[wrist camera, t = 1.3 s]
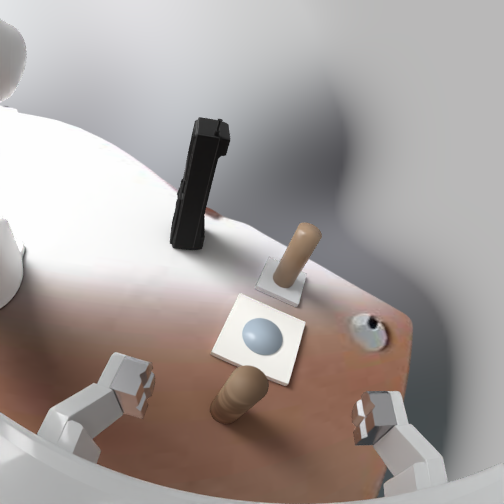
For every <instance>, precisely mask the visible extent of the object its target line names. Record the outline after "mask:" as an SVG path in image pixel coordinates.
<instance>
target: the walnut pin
mask: <svg viewBox="0 0 504 504" xmlns="http://www.w3.org/2000/svg"><path fill="white" fill-rule="evenodd" d="M268 387H269V384H268V379H267V377H266V375H265V374H264V373H263V372H262V371H261V370H260V369H258V368H256V367H254V366H249V365H245V366H241V367H238V368H237V369H235V370H234V371H233V373H232V374H231V375H230V377H229V378H228V380H227V381H226V383H225V384H224V386H223V387H222V389H221V390H220V392H219V393H218V395H217V396H216V398H215V399H214V401H213V402H212V404H211V406H210V412H211V415H212V417H213V418H214V419H215V420H216V421H218V422H220V423H223V424H229V423H232V422H234V421H235V420H236V419H238V418H239V417H240V416H241V415H243V414H244V413H245V412H246V411H248V410H249V409H250V408H251V407H253V406H254V405H255V404H256V403H257V402H259V401H260V400H261V399H262V398H263V397H264V396H265V395H266V393H267V391H268Z"/></svg>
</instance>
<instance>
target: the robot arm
mask: <svg viewBox="0 0 504 504" xmlns="http://www.w3.org/2000/svg"><path fill="white" fill-rule="evenodd" d="M25 64H26V46H25V42H24V39H23V37H22V35H21V34H20V32H19V31H18V30H17V29H16V28H15V27H13V26H12V25H10V24H7V23H6V22H4V21H2V20H1V19H0V102H2V101H4V100H6V99H8V98H9V97H10V96H11V95H12V94H13V92H14V91H15V89H16V87H17V86H18V84H19V82H20V80H21V78H22V75H23V72H24V69H25ZM24 251H25V246H24V244H23V243H22V242H21V241H19V240H16V239H15V238H14V236H13V233H12V231H11V229H10V226H9V224H8V221H7V220H6V219H3V218H2V217H0V308H2V307H3V306H5V305H6V304H7V303H8V302H9V301H10V300H11V299H12V298H13V296H14V295H15V294H16V292H17V290H18V289H19V287H20V284H21V281H22V277H23V263H22V257H23V254H24ZM152 369H153V365H152V362H148V361H144V360H140V359H137V358H133V357H130V356H127V355H124V354H120V353H117V352H114V353H113V354H112V356H111V357H110V359H109V361H108V363H107V365H106V367H105V369H104V371H103V373H102V375H101V377H100V379H99V381H98V383H97V384H95V383H93V384H91V385H90V386H88V387H86V388H85V389H83V390H81V391H79V392H78V393H76V394H74V395H73V396H71V397H69V398H67V399H66V400H64V401H62V402H61V403H59V404H57V405H55V406H54V407H52V408H50V409H49V411H48V413H47V415H46V417H45V419H44V421H43V423H42V425H41V427H40V429H39V431H38V433H37V435H36V434H34V433H33V432H31V431H29V430H27V429H26V428H24V427H23V426H21V425H19V424H18V423H16V422H15V421H13V420H11V419H10V418H8V417H7V416H5V415H4V414H2V413H1V412H0V504H283V503H263V502H251V501H241V500H233V499H225V498H218V497H212V496H206V495H201V494H196V493H191V492H186V491H181V490H177V489H173V488H169V487H165V486H161V485H157V484H154V483H150V482H147V481H143V480H140V479H137V478H134V477H131V476H128V475H125V474H122V473H119V472H116V471H114V470H111V469H108V468H106V467H103V466H101V465H98V464H97V461H98V458H99V455H100V452H101V450H100V448H99V447H98V446H97V444H96V443H95V442H94V441H93V438H94V437H95V436H97V435H98V434H99V433H101V432H102V431H103V430H104V429H106V428H107V427H108V426H109V425H111V424H112V423H113V422H115V421H116V420H117V419H118V418H120V417H121V416H122V415H123V413H124V414H128V415H131V416H135V417H138V418H142V419H144V416H145V413H146V410H147V407H148V403H147V399H148V398H149V397H151V396H152V393H153V390H154V385H155V376H154V374H153V373H152ZM352 423H353V424H354V425H355V426H356V428H355V430H354V431H353V434H354V443H355V445H373V447H374V448H375V450H376V451H377V453H378V454H379V456H380V457H381V458H382V460H383V461H384V463H385V464H386V466H387V467H388V468H389V470H390V471H391V473H392V474H393V476H394V477H393V478H392V479H390V480H388V481H386V482H385V483H384V495H385V497H382V498H375V499H368V500H359V501H350V502H337V503H318V504H504V463H500V464H497V465H494V466H492V467H490V468H487V469H485V470H482V471H480V472H477V473H474V474H471V475H469V476H466V477H463V478H460V479H457V480H454V481H451V482H448V480H447V476H446V470H445V466H444V461H443V457H442V456H441V455H440V454H439V453H438V452H437V451H436V449H435V448H434V447H433V446H432V445H431V444H430V443H429V442H428V441H427V440H426V439H425V438H424V437H423V436H422V435H421V434H420V433H419V432H418V431H417V430H416V428H415V427H414V426H413V425H412V424H408V420H407V416H406V412H405V408H404V404H403V400H402V396H401V393H400V392H399V391H366V392H364V393H363V394H362V395H361V400H359V401H357V402H356V403H355V405H354V406H353V410H352Z"/></svg>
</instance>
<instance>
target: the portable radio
mask: <svg viewBox="0 0 504 504" xmlns="http://www.w3.org/2000/svg"><path fill="white" fill-rule="evenodd" d="M229 142H230V134H229V126H228V124H227V123H225V122H222V119H218V120H213V119H207V118H198V120H196V121H195V124H194V128H193V133H192V137H191V142H190V146H189V151H188V156H187V161H186V168H185V172H184V177H183V179H182V181H181V185H180V188H179V190H178V193H177V195H178V199H177V202H176V209H175V213H174V217H173V221H172V227H171V236H170V244H172V247H173V248H181V249H189V250H198V249H202V246H203V242H204V214H205V210H206V205H207V201H208V197H209V192H210V189H211V185H212V181H213V177H214V173H215V168H216V165H217V161H218V158H219V157H220V156H225V155H226V153H227V149H228V146H229Z"/></svg>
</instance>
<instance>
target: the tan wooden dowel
mask: <svg viewBox="0 0 504 504" xmlns="http://www.w3.org/2000/svg"><path fill="white" fill-rule="evenodd" d="M321 237H322V234H321V232H320V230H319V229H318V228H317V227H315V226H314V225H312V224H309V223H301V224H299V226H298V228H297V230H296V232H295V234H294V236H293V237H292V239H291V242H290V243H289V245H288V247H287V249H286V251H285V253H284V255H283V257H282V259H281V261H278V260H276V259H273V258H271V257H269V258H268V260H267V262H266V264H265V267H264V269H263V271H262V273H261V276H260V278H259V280H258V283H257V285H256V287H255V289H256V290H258V291H261V292H263V293H265V294H267V295H269V296H272V297H274V298H276V299H278V300H281V301H283V302H285V303H287V304H290V305H292V306H294V307H297V306H298V304H299V301H300V297H301V294H302V290H303V286H304V283H305V279H306V275H307V274H306V273H304V272H302V269H303V267H304V266H305V264H306V262H307V261H308V259H309V257H310V256H311V254H312V252H313V251H314V249H315V247H316V246H317V244H318V242H319V241H320V239H321Z"/></svg>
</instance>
